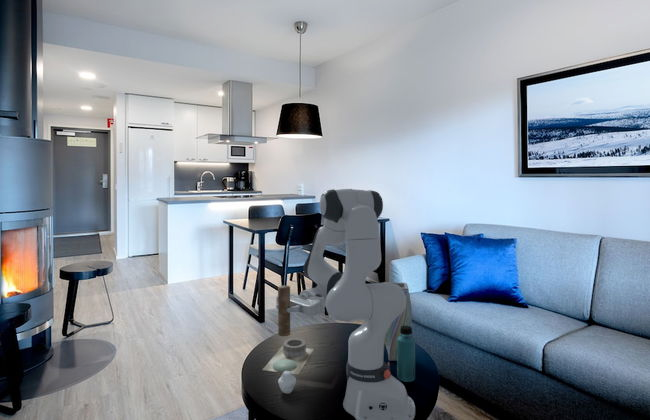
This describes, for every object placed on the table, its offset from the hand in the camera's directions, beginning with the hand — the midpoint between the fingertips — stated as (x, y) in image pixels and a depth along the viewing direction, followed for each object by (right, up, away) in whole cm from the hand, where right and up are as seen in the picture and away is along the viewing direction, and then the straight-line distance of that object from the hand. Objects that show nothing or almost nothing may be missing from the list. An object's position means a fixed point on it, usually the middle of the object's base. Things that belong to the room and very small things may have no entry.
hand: (282, 308), depth 141 cm
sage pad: (+1, -22, +2) cm, 22 cm away
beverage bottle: (+45, -25, -7) cm, 52 cm away
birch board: (+2, -23, +8) cm, 25 cm away
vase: (+44, -23, +12) cm, 51 cm away
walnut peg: (+1, -10, +1) cm, 10 cm away
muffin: (+3, -25, -13) cm, 28 cm away
